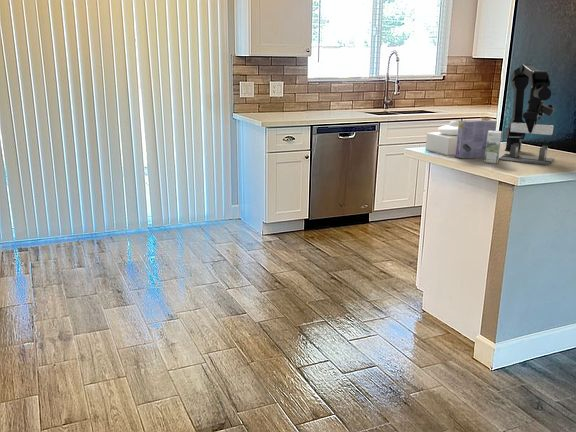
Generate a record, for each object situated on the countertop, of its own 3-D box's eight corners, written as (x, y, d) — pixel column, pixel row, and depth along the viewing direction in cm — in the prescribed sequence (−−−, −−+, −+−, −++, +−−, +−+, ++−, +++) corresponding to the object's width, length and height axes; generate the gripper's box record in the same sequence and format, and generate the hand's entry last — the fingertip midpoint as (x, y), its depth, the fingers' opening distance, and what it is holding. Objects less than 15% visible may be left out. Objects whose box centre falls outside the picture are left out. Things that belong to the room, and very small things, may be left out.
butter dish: (447, 155, 272) (450, 123, 267) (425, 149, 288) (427, 118, 283) (475, 153, 279) (479, 121, 274) (452, 147, 294) (455, 117, 290)
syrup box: (498, 162, 257) (502, 130, 253) (497, 164, 252) (501, 132, 247) (485, 160, 259) (489, 129, 255) (484, 163, 254) (487, 131, 250)
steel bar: (510, 131, 265) (511, 123, 263) (512, 130, 268) (513, 122, 267) (551, 135, 255) (552, 126, 254) (552, 134, 258) (553, 125, 257)
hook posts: (501, 157, 268) (503, 144, 266) (505, 155, 274) (507, 142, 272) (550, 162, 256) (553, 149, 254) (553, 160, 263) (555, 146, 261)
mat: (497, 160, 261) (497, 158, 261) (501, 157, 267) (501, 156, 267) (548, 165, 250) (548, 164, 250) (550, 163, 255) (550, 161, 255)
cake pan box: (488, 155, 273) (492, 119, 267) (494, 157, 268) (499, 120, 263) (454, 157, 267) (457, 120, 262) (460, 159, 263) (463, 121, 258)
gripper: (551, 101, 245) (546, 136, 250) (557, 98, 260) (552, 131, 265) (524, 99, 251) (520, 134, 255) (532, 97, 266) (528, 129, 271)
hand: (531, 132), depth 261 cm, fingers closed on steel bar, 4 cm apart
